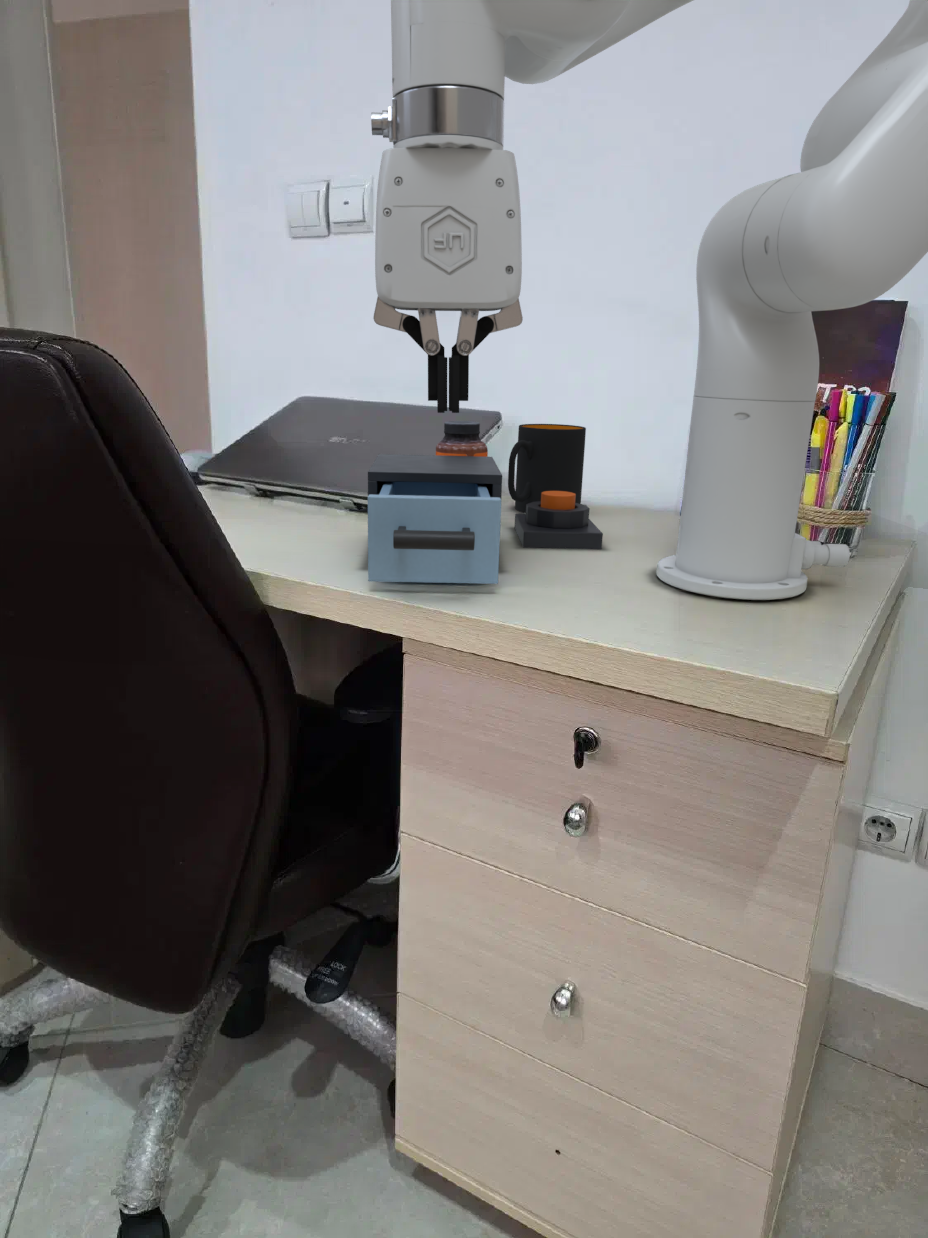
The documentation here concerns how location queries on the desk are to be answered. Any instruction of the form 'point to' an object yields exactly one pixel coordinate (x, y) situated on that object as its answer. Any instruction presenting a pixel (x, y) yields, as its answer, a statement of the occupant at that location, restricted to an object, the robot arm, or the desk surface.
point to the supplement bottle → (461, 440)
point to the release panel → (557, 528)
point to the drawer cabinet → (434, 471)
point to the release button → (558, 500)
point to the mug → (546, 462)
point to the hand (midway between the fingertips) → (448, 410)
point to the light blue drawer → (433, 533)
